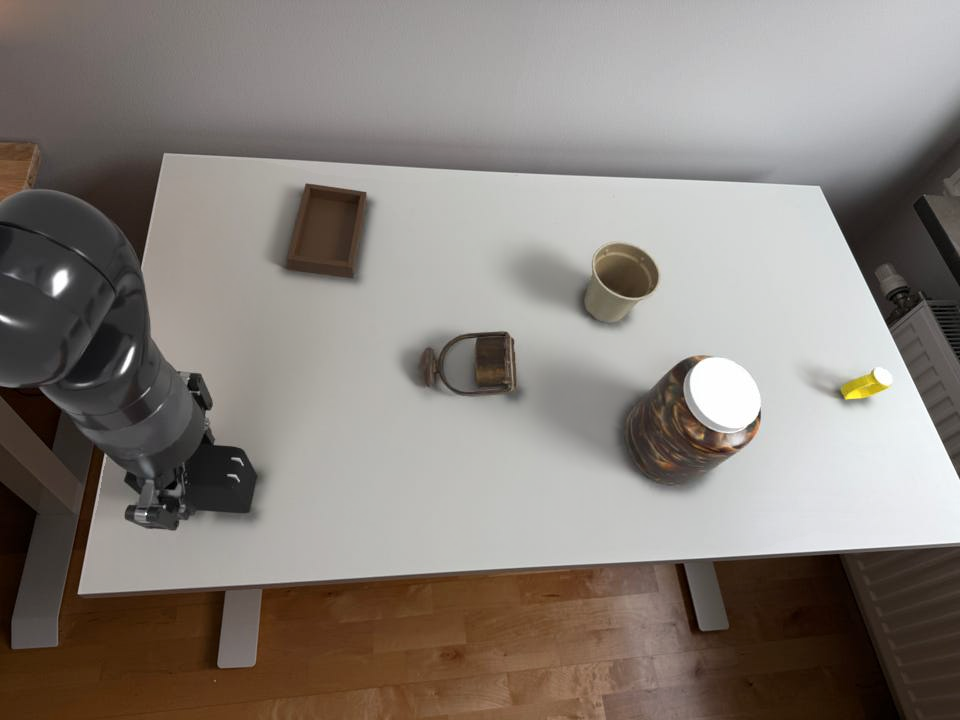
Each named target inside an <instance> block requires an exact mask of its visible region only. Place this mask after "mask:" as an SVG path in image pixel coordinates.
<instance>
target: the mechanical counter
mask: <svg viewBox="0 0 960 720" xmlns="http://www.w3.org/2000/svg"><path fill="white" fill-rule="evenodd" d="M470 339H475V343H474V344H475V346H474V363H475V365H474V367H475V379H476V383H477V387H478V389H479V390H477V391H464V390H459V389H456V388H455V387H453V386H452V385H451V384H450V383H449V382H448V380H447V379H446V377H445V374H444V371H443V370H444V369H443V368H444V359H445V357H446V354H447V352H448V351H449V350H450V348H451V347H453V346H454V345H455V344H457V343H458V342H461V341H464V340H470ZM516 363H517V362H516V352H515V339H514V338H513V337H512V336H511V335H510V333H509V332H508V331H502V330H501V331H483V332H467V333H463V334H460V335H458V336H456V337H454V338H452V339H451V340H449V341H448V342H447V343H446V344H445V345H444V347H443V348H442V349H441V351H440V354H439V357H438V358H437V360H436V354H435V349H434V347H431V346H427V347H426V348H425V349H424V350H423V351H422V353H421V355H420V357H419V361H418V372H419V377H420V379H421V382H422V383H423V385H424V386H425V387H427V388H429V389H431V388H433V387H434V386H435V379H436V374H438V375H439V379H440V380H441V381H442V383H443V385H444V386H445V387H446V388H447V389H448V390H449V391H451V392H453V393H454V394H456V395H458V396H462V397H481V396H482V397H483V396H497V395H499V396H500V395H509V394H511V393H515V391H516V386H517V368H516V366H517V365H516Z"/></svg>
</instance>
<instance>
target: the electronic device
mask: <svg viewBox="0 0 960 720" xmlns="http://www.w3.org/2000/svg"><path fill="white" fill-rule="evenodd" d="M189 459H190V463H189V465H188V474H189V482H190V485H189V487H188V489H187V491H186V493H185V494H186V499H188V500H189V501H190V502H191V503H192V504H193V505H194V506H195V507H196V511H202V512H203V511H204V512H218V513H231V514H249V513H250V512H251V508H252V503H253V499H254V495H255V489H256V485H257V480H258V474H257V472H256V470H255V468H254V466H253V465H252V463H251V461H250V459H249V457H248V455H247V453H246V451H245V450H244V449H243V448H241V447H238V446H233V445H220V444H214V445H210V444H199V446H198V448H197V449H196V451H195V452H194V453H193V454H192V455H191V456H190V457H189ZM175 480H177V478H176V479H175ZM123 482H124V483H125V484H126V485H127V486H128V487H130V488H131V489H132V490H133V491H135V492H136V493H137V494H138V495H139V496H140V495H141V492H142V488H141V487H140V486H139V485H138V483H137V478H136V475H134V474H132V473H130V472H128V471H127V470H126V472H125V475H124V479H123ZM164 497H171V498H174V497H173V496H169V495H164Z"/></svg>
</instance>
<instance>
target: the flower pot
mask: <svg viewBox="0 0 960 720" xmlns="http://www.w3.org/2000/svg"><path fill="white" fill-rule="evenodd" d="M661 280H662V275H661V269H660V267H659V264H658V263H657V262H656V260H655V258H654V257H653V256H652V255H651V254H650V253H649V252H648V251H647V250H646V249H644V248H642V247H640V246H639V245H636V244H634V243H632V242H627V241H610V242H607V243H605V244H603V245H601V246H599V248H597V250H596V251H595V252H594V254H593V257H592V260H591V276H590V280H589V283H588V286H587V289H586V293H585V294H584V300H583V301H584V303H583V304H584V307H585V309H586V311H587V312H588V313H589V314H591V316H592V317H593V318H594V319H595V320H597V321H599V322H603V323H609V324H611V323H616V322H618V321H620V320H621V319H623V318H624V317H625V316H626V315H627V314H629V312H630V311H631V310H632V309H633V308H634V307H635V306H636V305H637V304H638V303H639V302H641V301H643V300H646V299H648V298H650V297H651V296H653V295H654V294H655V293H656V292H657V291H658V289H659V287H660V285H661Z"/></svg>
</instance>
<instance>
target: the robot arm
mask: <svg viewBox="0 0 960 720" xmlns="http://www.w3.org/2000/svg"><path fill="white" fill-rule="evenodd" d="M149 309H150V308H149V303H148V296H147V289H146V283H145V278H144V274H143V270H142V267H141V264H140V261H139V258H138V256H137V254H136V251H135V249H134V248H133V246H132V244H131V243H130V241H129V240H128V238H127V237H126V235H125V234H124V232H123V231H122V230H121V228H119V226H118V225H117V224H116V223H115V222H114V221H113V220H112V219H111V218H110V217H108V216H107V215H106V214H105V213H104V212H102V211H101V210H100V209H99V208H97V207H96V206H94V205H93V204H92V203H89V202H88V201H86V200H84V199H82V198H80V197H77V196H75V195H72V194H70V193H68V192H64V191H60V190H57V189H56V190H54V189H48V188H32V189H24V190H20V191H18V192H15V193H13V194H11V195H8V196H6V197H5V198H4V199H2V200H1V201H0V387H6V388H13V389H34V388H38V389H39V390H40V391H41V392H42V393H43V394H44V395H45V396H46V397H47V398H48V399H49V400H50V401H51V402H52V403H53V404H55V406H57V408H59V409H60V410H61V411H62V412H63V413H65V414H66V416H68V417H69V418H70V419H71V420H72V422H73V423H74V425H75V426H76V428H77V429H78V430H79V431H80V432H81V434H83V435H84V436H85V438H87V440H89V441H90V442H91V443H92V444H94V445H95V446H96V448H98V449H99V450H100V451H101V452H103V453H104V455H106V456H107V457H108V458H110V460H112V461H113V462H114V463H115V464H116V465H117V466H118V467H120V468H121V469H123V470H125V471H126V472H127V471H128V472H130V473H132V474H134V475H136V478H137V483H138V485H139V486H140V487H141V488H142V492H141V495H139V499H138V501H135V502H134V504H128V505H127V506H126V508H125V510H124V519H125V521H128V522H130V523H132V524H134V525H137V526H139V527H142V528H144V529H148V530H153V529H154V530H168V531H173V532H176V531H177V530H178V528H179V526H180V521H188V520H189V519H190V516H191V517H192V516H193V517H195V515H196V511H197V510H196V507H195V506H194V505H193V504H192V503H191V502H190V501H189V500H188V499H186V494H185V493H186V491H187V489H188V487H189V485H190V482H189V474H188V465H189V463H190V459H189V457H190V456H191V455H192V454H193V453H194V452H195V451H196V449H197V448H198V446H199V444H210V445H215V441H216V438H215V436H214V435H213V433H212V432H213V431H212V429H211V427H210V426H211V425H210V424H211V423H210V422H211V421H210V418H209V417H206V415H207V414H206V413H207V411H208V412H209V411H211V410H212V408H213V406H214V402H213V398H212V395H211V393H210V391H209V389H208V386H207V384H206V382H205V379H204V377H203V375H202V373H199V372H188V371H181V370H177V369H176V368H175V367H174V366H173V365H172V364H171V363H170V362H169V360H167V359H166V357H165V356H164V354H163V353H162V351H161V350H160V348H159V347H158V345H157V343H156V342H155V340H154V339H153V338H152V329H151V328H152V327H151V326H152V325H151V316H150V310H149ZM176 478H177V480H175V479H176ZM164 495H169V496H173V497H174V498H171V497H164Z"/></svg>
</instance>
